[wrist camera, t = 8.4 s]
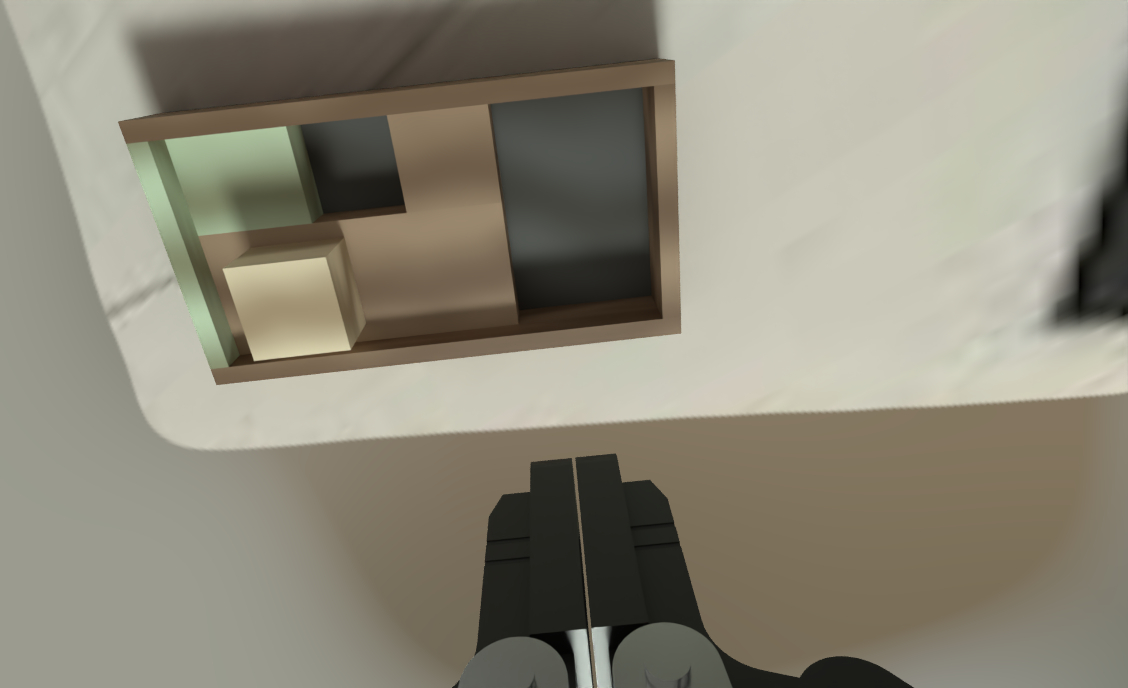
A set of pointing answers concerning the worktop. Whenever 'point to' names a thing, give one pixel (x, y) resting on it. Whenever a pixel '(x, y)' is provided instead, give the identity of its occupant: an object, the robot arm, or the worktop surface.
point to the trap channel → (434, 210)
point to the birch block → (296, 298)
